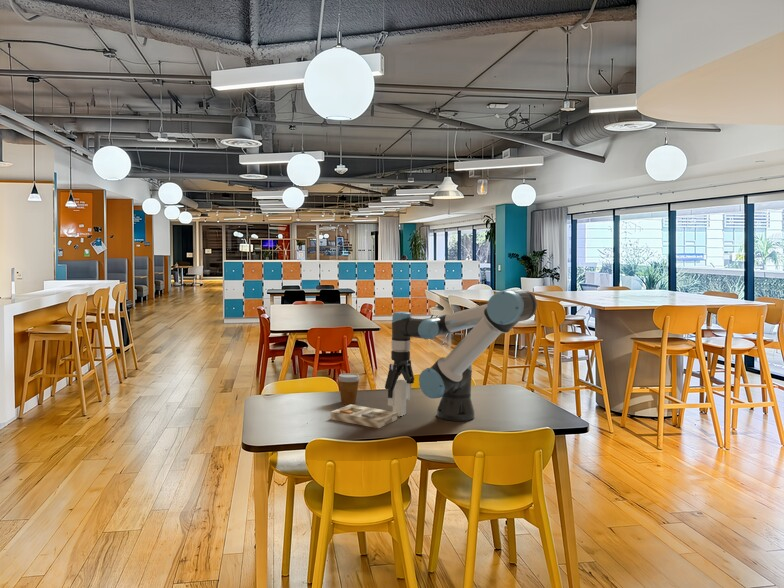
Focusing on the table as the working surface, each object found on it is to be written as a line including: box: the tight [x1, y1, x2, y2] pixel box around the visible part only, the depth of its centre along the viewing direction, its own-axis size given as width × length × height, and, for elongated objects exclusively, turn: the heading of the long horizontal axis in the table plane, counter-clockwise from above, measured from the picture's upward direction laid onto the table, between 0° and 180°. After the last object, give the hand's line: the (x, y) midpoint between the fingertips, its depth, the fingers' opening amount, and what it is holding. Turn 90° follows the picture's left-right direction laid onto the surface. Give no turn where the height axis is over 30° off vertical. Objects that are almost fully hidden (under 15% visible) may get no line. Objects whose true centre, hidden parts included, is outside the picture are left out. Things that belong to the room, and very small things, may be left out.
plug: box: [392, 378, 407, 417], centre depth 250 cm, size 4×4×14 cm
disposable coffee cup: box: [337, 372, 361, 405], centre depth 269 cm, size 10×10×12 cm
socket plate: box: [330, 404, 398, 429], centre depth 242 cm, size 22×14×4 cm, turn 60°
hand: (399, 402), depth 250 cm, fingers open, 13 cm apart
